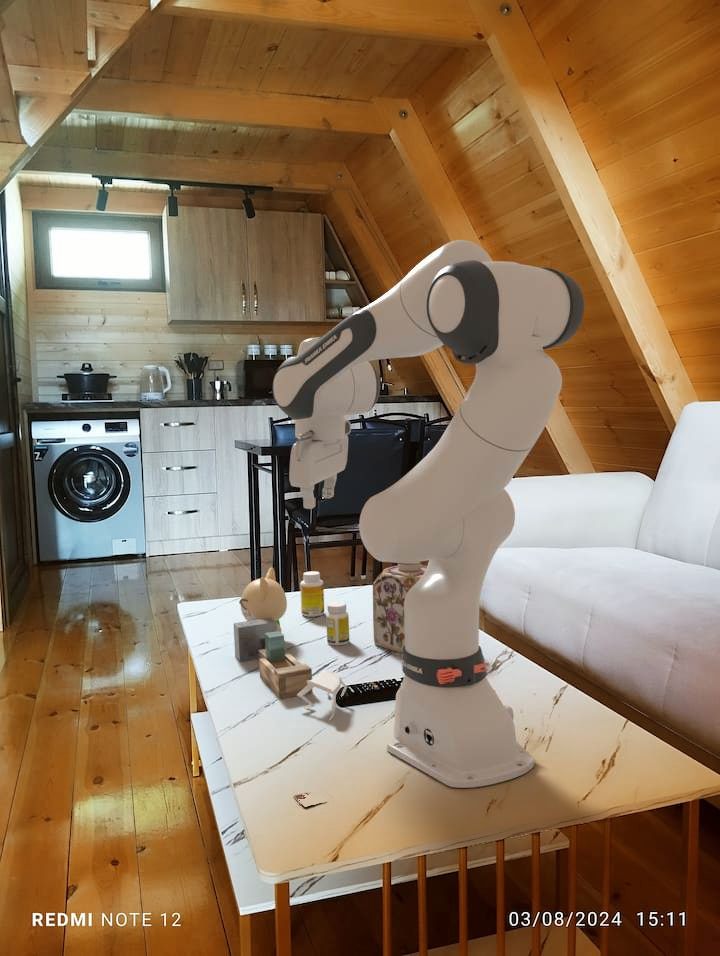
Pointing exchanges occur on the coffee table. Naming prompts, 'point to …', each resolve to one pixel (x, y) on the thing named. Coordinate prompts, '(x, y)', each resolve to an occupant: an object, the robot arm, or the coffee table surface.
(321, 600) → the supplement bottle
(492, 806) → the coffee table surface
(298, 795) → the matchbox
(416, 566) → the decorative jar
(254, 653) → the socket block
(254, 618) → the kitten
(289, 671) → the guide channel
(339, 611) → the supplement bottle
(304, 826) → the coffee table surface
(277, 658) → the slide bar
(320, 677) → the origami figure
